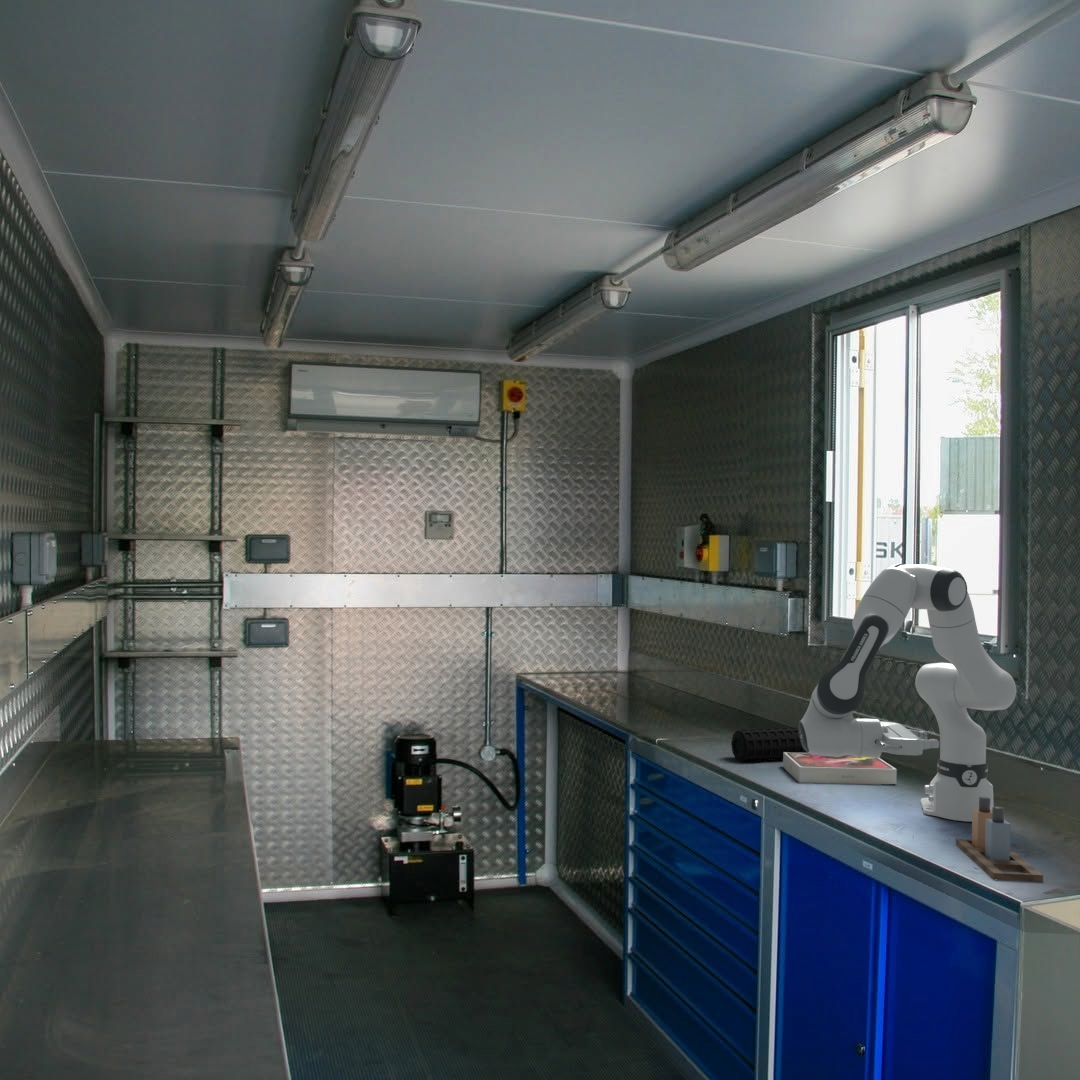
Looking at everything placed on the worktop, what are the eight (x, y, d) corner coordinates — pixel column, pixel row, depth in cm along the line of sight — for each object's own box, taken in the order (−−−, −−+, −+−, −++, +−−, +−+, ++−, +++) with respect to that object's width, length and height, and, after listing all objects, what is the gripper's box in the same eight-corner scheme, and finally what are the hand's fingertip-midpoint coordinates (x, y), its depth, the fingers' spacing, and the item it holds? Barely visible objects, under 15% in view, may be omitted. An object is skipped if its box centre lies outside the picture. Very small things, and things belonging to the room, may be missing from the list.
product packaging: (783, 768, 339) (783, 752, 339) (873, 770, 339) (874, 754, 339) (799, 784, 317) (799, 767, 317) (896, 786, 317) (896, 769, 317)
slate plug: (984, 858, 243) (985, 805, 243) (1003, 859, 243) (1004, 805, 243) (990, 864, 239) (992, 809, 239) (1009, 865, 239) (1010, 810, 239)
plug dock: (955, 845, 254) (956, 839, 254) (1000, 847, 254) (1000, 840, 254) (993, 880, 228) (993, 873, 228) (1042, 882, 228) (1043, 875, 228)
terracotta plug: (971, 847, 252) (972, 795, 252) (989, 848, 252) (990, 796, 252) (977, 852, 248) (978, 799, 248) (995, 853, 248) (996, 800, 248)
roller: (827, 747, 365) (833, 720, 362) (843, 761, 356) (850, 734, 353) (726, 752, 352) (732, 724, 349) (741, 767, 343) (747, 739, 340)
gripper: (881, 733, 241) (945, 734, 240) (861, 716, 262) (920, 718, 261) (881, 761, 242) (945, 763, 241) (861, 742, 262) (920, 744, 261)
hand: (932, 739), depth 251 cm, fingers open, 8 cm apart
